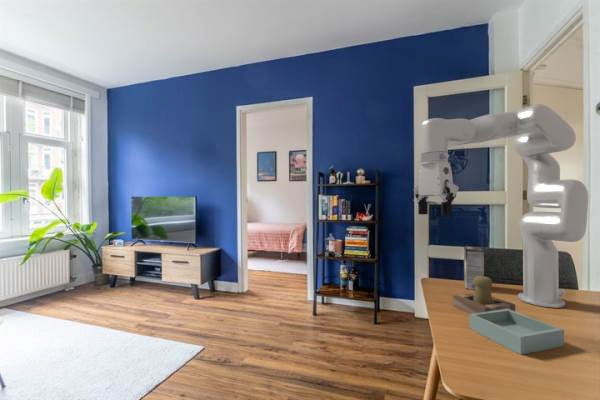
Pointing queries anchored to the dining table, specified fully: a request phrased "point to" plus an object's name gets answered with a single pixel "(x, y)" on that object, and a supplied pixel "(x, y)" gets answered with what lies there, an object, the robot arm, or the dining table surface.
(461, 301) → the socket
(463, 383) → the dining table surface
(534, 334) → the tray
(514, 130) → the robot arm
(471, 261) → the coffee box
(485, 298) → the cork
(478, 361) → the dining table surface
